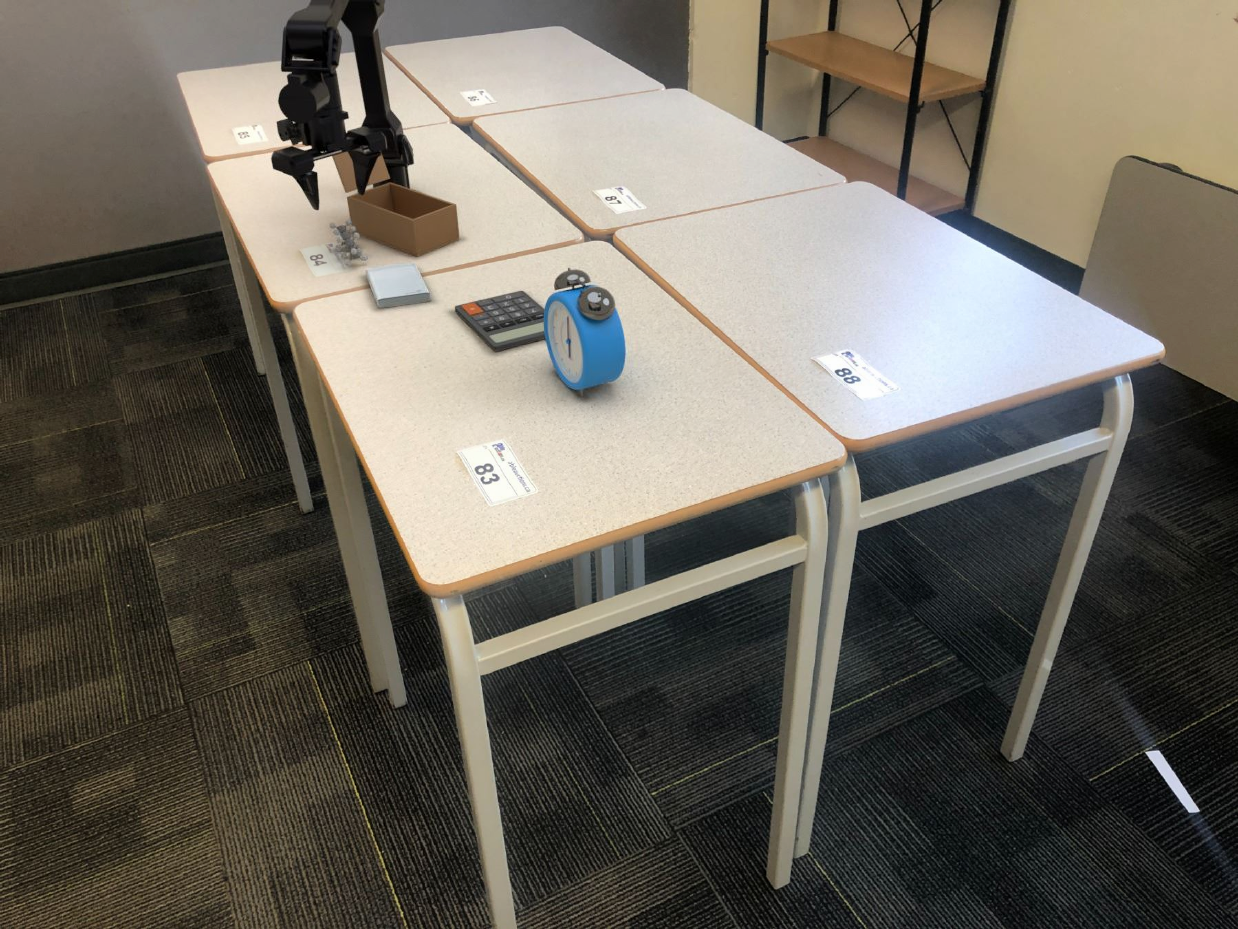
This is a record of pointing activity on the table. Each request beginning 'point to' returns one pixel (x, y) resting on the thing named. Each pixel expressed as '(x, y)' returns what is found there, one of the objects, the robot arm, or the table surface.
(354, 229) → the molecular model
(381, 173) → the carton flap
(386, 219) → the carton
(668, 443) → the table surface
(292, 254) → the table surface
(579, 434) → the table surface
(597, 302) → the alarm clock
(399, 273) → the hard drive
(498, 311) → the calculator
